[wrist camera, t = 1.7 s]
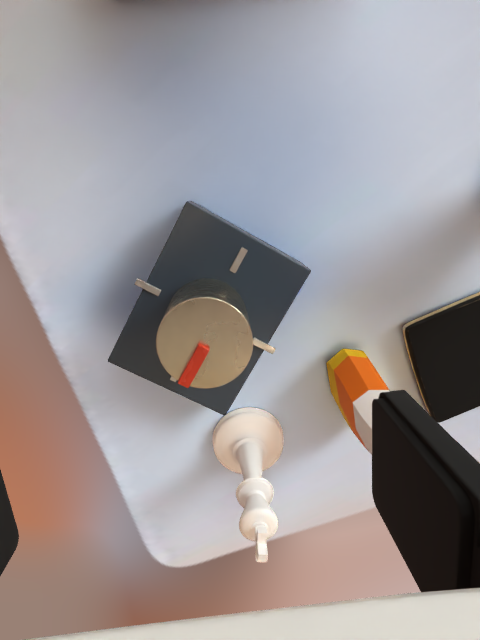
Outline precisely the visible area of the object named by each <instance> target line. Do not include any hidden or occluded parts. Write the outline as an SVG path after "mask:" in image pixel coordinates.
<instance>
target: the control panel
mask: <svg viewBox="0 0 480 640" xmlns="http://www.w3.org/2000/svg"><path fill="white" fill-rule="evenodd" d="M310 272H311V270H310V269H309V268H307V267H306V266H305V265H304V264H302V263H301V262H300V261H298V260H296V259H294V258H292V257H291V256H289V255H287V254H285V253H283V252H282V251H280V250H278V249H276V248H275V247H273V246H271V245H269V244H267V243H266V242H264V241H262V240H260V239H258V238H257V237H255V236H253V235H251V234H249V233H248V232H246V231H244V230H242V229H241V228H239V227H237V226H235V225H233V224H232V223H230V222H228V221H226V220H224V219H223V218H221V217H219V216H217V215H215V214H214V213H212V212H210V211H208V210H207V209H205V208H203V207H201V206H199V205H198V204H196V203H194V202H192V201H188V202H186V204H185V206H184V208H183V210H182V212H181V214H180V216H179V218H178V220H177V222H176V224H175V226H174V228H173V230H172V232H171V234H170V236H169V238H168V240H167V242H166V244H165V246H164V248H163V250H162V252H161V254H160V256H159V258H158V260H157V262H156V264H155V266H154V268H153V270H152V272H151V274H150V276H149V278H148V280H147V282H144V281H143V280H141V279H139V278H137V280H136V282H135V285H137V286H139V287H141V288H143V290H142V292H141V294H140V296H139V298H138V300H137V302H136V304H135V306H134V308H133V310H132V312H131V314H130V316H129V318H128V320H127V322H126V324H125V326H124V328H123V330H122V332H121V334H120V336H119V338H118V340H117V342H116V345H115V347H114V349H113V351H112V353H111V355H110V357H109V359H108V362H110V363H113V364H115V365H117V366H119V367H121V368H123V369H126V370H128V371H130V372H132V373H134V374H136V375H138V376H141V377H143V378H145V379H147V380H149V381H151V382H154V383H156V384H158V385H160V386H162V387H164V388H166V389H169V390H171V391H173V392H175V393H177V394H179V395H182V396H184V397H186V398H188V399H190V400H192V401H194V402H197V403H199V404H201V405H203V406H205V407H207V408H210V409H212V410H214V411H216V412H218V413H220V414H222V415H226V413H227V411H228V410H229V408H230V406H231V405H232V403H233V401H234V400H235V398H236V396H237V395H238V393H239V391H240V389H241V388H242V386H243V384H244V383H245V381H246V379H247V378H248V376H249V374H250V373H251V371H252V369H253V368H254V366H255V364H256V363H257V361H258V359H259V358H260V356H261V354H262V353H263V351H264V350H265V351H267V352H269V353H271V354H273V353H274V351H275V348H274V347H272V346H270V345H268V342H269V341H270V339H271V337H272V336H273V334H274V332H275V331H276V329H277V327H278V326H279V324H280V322H281V321H282V319H283V317H284V316H285V314H286V312H287V311H288V309H289V307H290V305H291V304H292V302H293V300H294V299H295V297H296V295H297V294H298V292H299V290H300V289H301V287H302V285H303V284H304V282H305V280H306V279H307V277H308V275H309V274H310ZM203 278H211V279H217V280H220V281H223V282H225V283H227V284H228V285H230V286H231V287H233V288H234V289H235V290H236V291H237V292H238V293H239V295H240V296H241V298H242V299H243V301H244V304H245V307H246V311H247V315H248V319H249V323H250V327H251V331H252V335H253V351H252V355H251V358H250V361H249V363H248V365H247V366H246V368H245V369H244V370H243V372H242V373H241V374H240V375H239V376H238V377H236V378H235V379H234V380H232V381H231V382H229V383H227V384H225V385H222V386H219V387H215V388H207V389H204V388H194V387H191V386H189V388H186V387H184V386H182V385H180V384H178V381H177V380H176V379H175V378H173V377H172V376H171V375H170V374H169V373H168V372H167V371H166V370H165V369H164V367H163V365H162V364H161V362H160V360H159V357H158V354H157V349H156V336H157V331H158V328H159V326H160V323H161V321H162V319H163V317H164V314H165V312H166V310H167V308H168V306H169V303H170V301H171V299H172V297H173V296H174V294H175V293H176V292H177V291H178V290H179V289H180V288H181V287H182V286H184V285H185V284H187V283H189V282H191V281H194V280H197V279H203Z"/></svg>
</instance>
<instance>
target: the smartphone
mask: <svg viewBox="0 0 480 640" xmlns="http://www.w3.org/2000/svg"><path fill="white" fill-rule="evenodd" d="M403 335H404V340H405V344H406V348H407V352H408V355H409V358H410V362H411V365H412V368H413V371H414V374H415V377H416V380H417V383H418V386H419V389H420V392H421V395H422V398H423V400H424V403H425V405H426V408H427V410H428V412H429V414H430V416H431V417H432V418H433V419H434V420H435V421H436V422H442V421H444V420H447V419H449V418H452V417H454V416H457V415H459V414H461V413H464V412H466V411H469V410H471V409H474V408H476V407H478V406H480V292H478V293H476V294H474V295H471V296H469V297H466V298H464V299H462V300H459V301H457V302H455V303H452V304H450V305H448V306H445V307H443V308H441V309H438V310H436V311H434V312H431V313H429V314H427V315H424V316H422V317H420V318H418V319H415V320H413V321H411V322H409V323H407V324H405V325H404V326H403Z"/></svg>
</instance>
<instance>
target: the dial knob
mask: <svg viewBox="0 0 480 640" xmlns="http://www.w3.org/2000/svg"><path fill="white" fill-rule="evenodd" d="M156 349H157V354H158V357H159V360H160V362H161V364H162V365H163V367H164V369H165V370H166V371H167V372H168V373H169V374H170V375H171V376H172V377H173V378H175V379H176V380H177V381H178V384H180V385H182V386H184V387H186V388H189V386H191V387H194V388H204V389H207V388H215V387H219V386H222V385H225V384H227V383H229V382H231V381H232V380H234V379H235V378H236V377H238V376H239V375H240V374H241V373H242V372H243V370H244V369H245V368H246V366H247V365H248V363H249V361H250V358H251V355H252V351H253V335H252V331H251V327H250V323H249V319H248V315H247V311H246V307H245V304H244V301H243V299H242V298H241V296H240V295H239V293H238V292H237V291H236V290H235V289H234V288H233V287H231V286H230V285H228V284H227V283H225V282H223V281H220V280H217V279H211V278H203V279H197V280H194V281H191V282H189V283H187V284H185V285H184V286H182V287H181V288H180V289H179V290H178V291H177V292H176V293H175V294H174V296H173V297H172V299H171V301H170V303H169V306H168V308H167V310H166V312H165V314H164V317H163V319H162V321H161V323H160V326H159V328H158V331H157V336H156Z"/></svg>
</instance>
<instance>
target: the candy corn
mask: <svg viewBox="0 0 480 640" xmlns="http://www.w3.org/2000/svg"><path fill="white" fill-rule="evenodd" d="M326 364H327V370H328V376H329V383H330V389H331V393H332V395H333V397H334V399H335V401H336V403H337V405H338V407H339V409H340V411H341V413H342V415H343V417H344V419H345V420H346V422H347V424H348V425H349V427H350V428H351V430H352V431H353V433H354V434H355V435H356V436H357V438H358V439H359V440H360V442H361V443H362V444H363V445H364V447H365V448H366V449H367V450H368V451H369V452H370V453H371V454H372V401H373V399H378V398H379V394H380V393H381V392H390V390H389V389H388V387H387V386H386V384H385V383H384V381H383V380H382V378H381V377H380V375H379V374H378V372H377V371H376V369H375V368H374V366H373V365H372V363H371V362H370V360H369V359H368V357H367V356H366V354H365V353H364V352H363V351H360V350H351V349H341V350H340V351H339V352H338V353H337V354H336V355H335V356H334V357H332V358H331V359H330V360H329V361H328V362H327V363H326Z"/></svg>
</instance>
